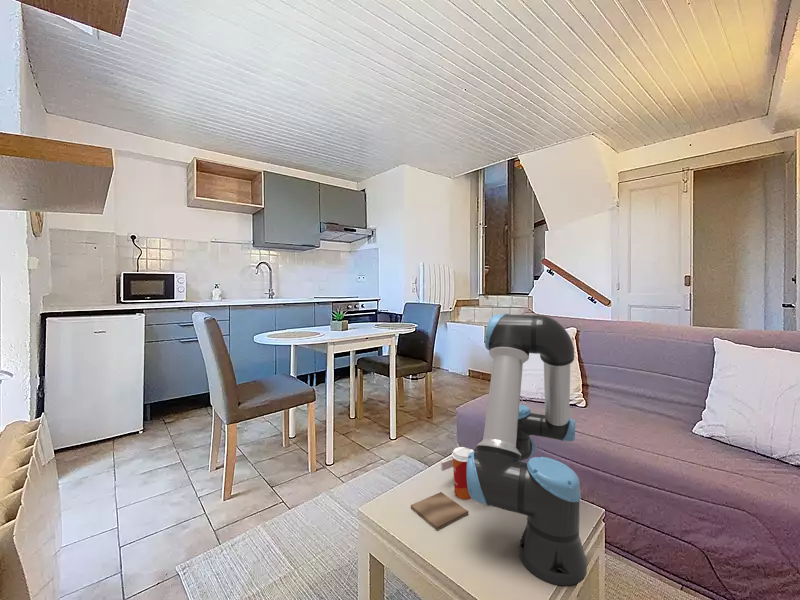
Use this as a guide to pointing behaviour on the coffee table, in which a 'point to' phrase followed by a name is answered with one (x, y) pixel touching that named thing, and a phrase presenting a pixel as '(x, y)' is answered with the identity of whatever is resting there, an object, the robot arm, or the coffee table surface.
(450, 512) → the walnut pad
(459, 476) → the paper cup
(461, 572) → the coffee table surface
